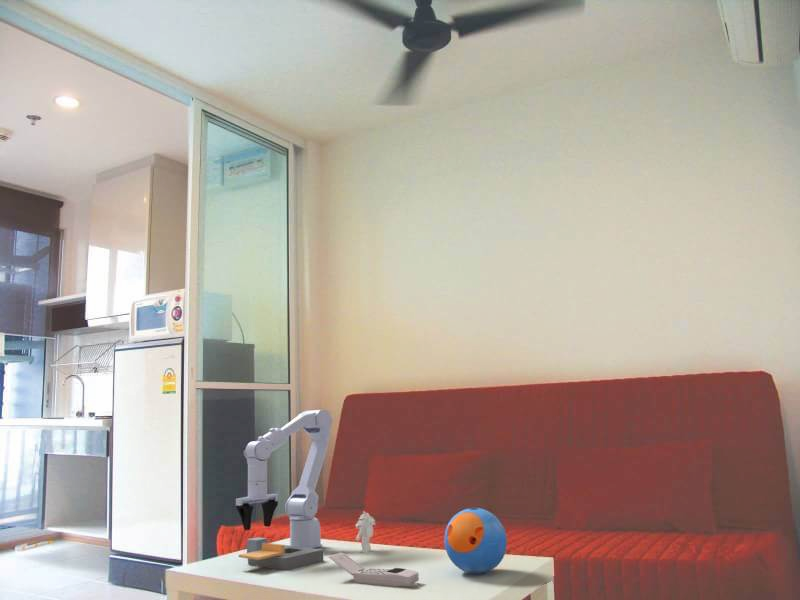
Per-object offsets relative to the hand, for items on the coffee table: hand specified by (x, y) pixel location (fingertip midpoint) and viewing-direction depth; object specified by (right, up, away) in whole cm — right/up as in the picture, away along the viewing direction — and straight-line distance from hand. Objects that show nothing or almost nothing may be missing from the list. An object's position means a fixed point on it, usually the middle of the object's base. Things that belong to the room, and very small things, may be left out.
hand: (257, 528), depth 192 cm
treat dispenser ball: (+62, +1, -34) cm, 71 cm away
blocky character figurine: (+33, -8, +2) cm, 34 cm away
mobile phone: (+37, 0, -39) cm, 54 cm away
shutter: (+5, -2, -17) cm, 18 cm away
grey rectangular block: (0, -8, -2) cm, 8 cm away
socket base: (+11, -6, -11) cm, 16 cm away
